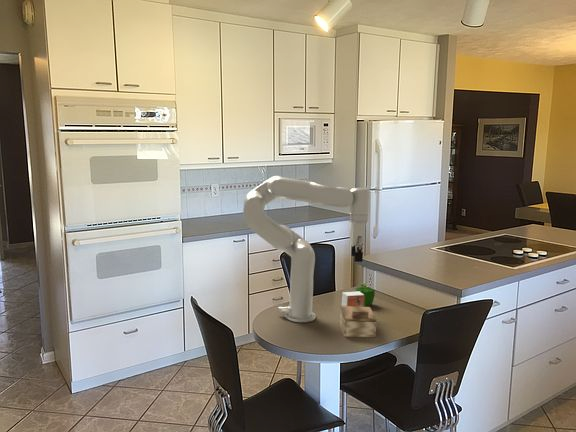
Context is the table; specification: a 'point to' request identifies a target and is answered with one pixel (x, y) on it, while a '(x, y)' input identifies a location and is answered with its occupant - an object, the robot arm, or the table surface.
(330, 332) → the table surface
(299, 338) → the table surface
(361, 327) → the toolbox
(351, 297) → the small box
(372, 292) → the bell pepper
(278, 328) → the table surface
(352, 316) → the lid
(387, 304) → the table surface
